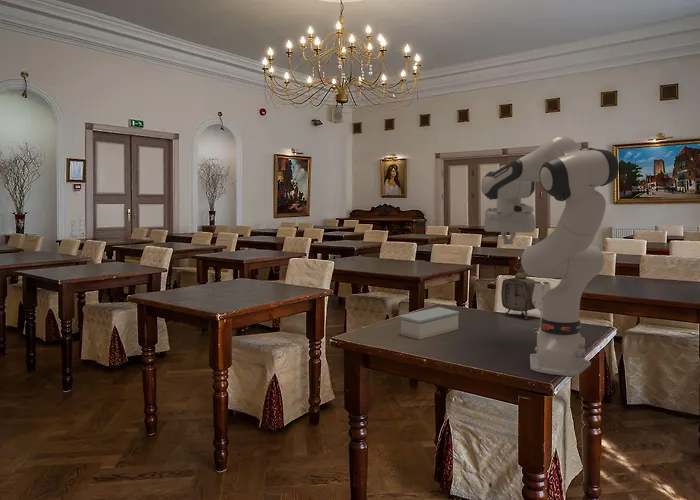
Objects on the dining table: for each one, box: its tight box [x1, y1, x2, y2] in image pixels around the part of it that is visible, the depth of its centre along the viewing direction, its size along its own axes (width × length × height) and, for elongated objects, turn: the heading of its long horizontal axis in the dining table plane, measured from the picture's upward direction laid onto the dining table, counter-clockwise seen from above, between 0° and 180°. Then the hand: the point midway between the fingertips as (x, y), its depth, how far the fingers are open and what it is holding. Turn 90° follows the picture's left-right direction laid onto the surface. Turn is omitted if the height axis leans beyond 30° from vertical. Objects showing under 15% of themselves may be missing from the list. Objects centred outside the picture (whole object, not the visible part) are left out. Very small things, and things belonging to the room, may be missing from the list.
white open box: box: [400, 314, 459, 340], centre depth 217 cm, size 10×24×6 cm, turn 131°
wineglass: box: [531, 281, 552, 334], centre depth 215 cm, size 8×8×20 cm
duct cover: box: [398, 306, 460, 323], centre depth 217 cm, size 11×25×1 cm, turn 132°
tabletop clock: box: [500, 262, 537, 320], centre depth 242 cm, size 14×9×25 cm, turn 36°
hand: (508, 244), depth 202 cm, fingers closed
